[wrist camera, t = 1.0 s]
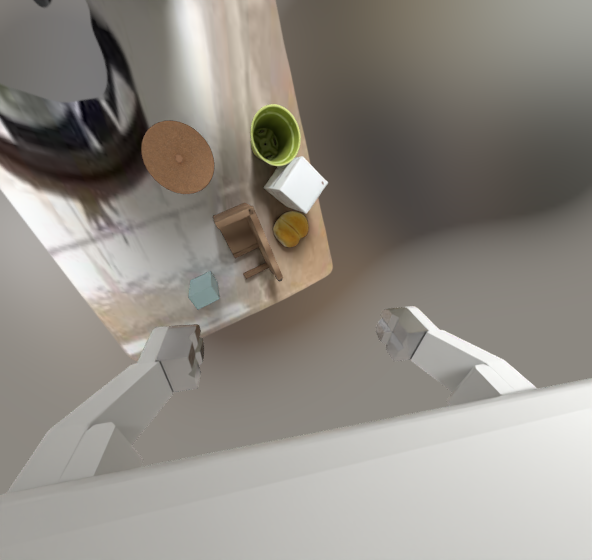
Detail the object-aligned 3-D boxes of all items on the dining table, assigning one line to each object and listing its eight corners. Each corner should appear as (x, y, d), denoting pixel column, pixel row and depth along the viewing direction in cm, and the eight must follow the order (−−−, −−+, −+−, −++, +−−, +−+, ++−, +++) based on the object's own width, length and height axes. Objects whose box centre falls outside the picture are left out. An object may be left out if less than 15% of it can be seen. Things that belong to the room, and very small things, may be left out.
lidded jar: (186, 118, 40) (182, 102, 32) (223, 174, 46) (228, 172, 38) (136, 149, 39) (119, 141, 31) (180, 202, 45) (176, 207, 37)
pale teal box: (190, 280, 51) (188, 297, 44) (210, 271, 52) (211, 286, 45) (201, 295, 54) (200, 314, 46) (219, 286, 55) (222, 303, 47)
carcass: (212, 216, 48) (214, 223, 39) (244, 202, 49) (253, 206, 41) (247, 280, 57) (254, 297, 48) (273, 267, 58) (284, 281, 49)
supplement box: (280, 159, 48) (303, 153, 38) (303, 182, 52) (329, 183, 42) (261, 187, 49) (278, 189, 39) (285, 208, 53) (307, 214, 42)
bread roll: (311, 227, 58) (317, 229, 54) (287, 250, 58) (292, 254, 54) (292, 202, 53) (298, 203, 50) (266, 227, 53) (270, 230, 50)
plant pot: (277, 112, 45) (291, 97, 37) (291, 161, 49) (306, 156, 42) (235, 125, 43) (241, 112, 36) (253, 175, 48) (263, 173, 40)
